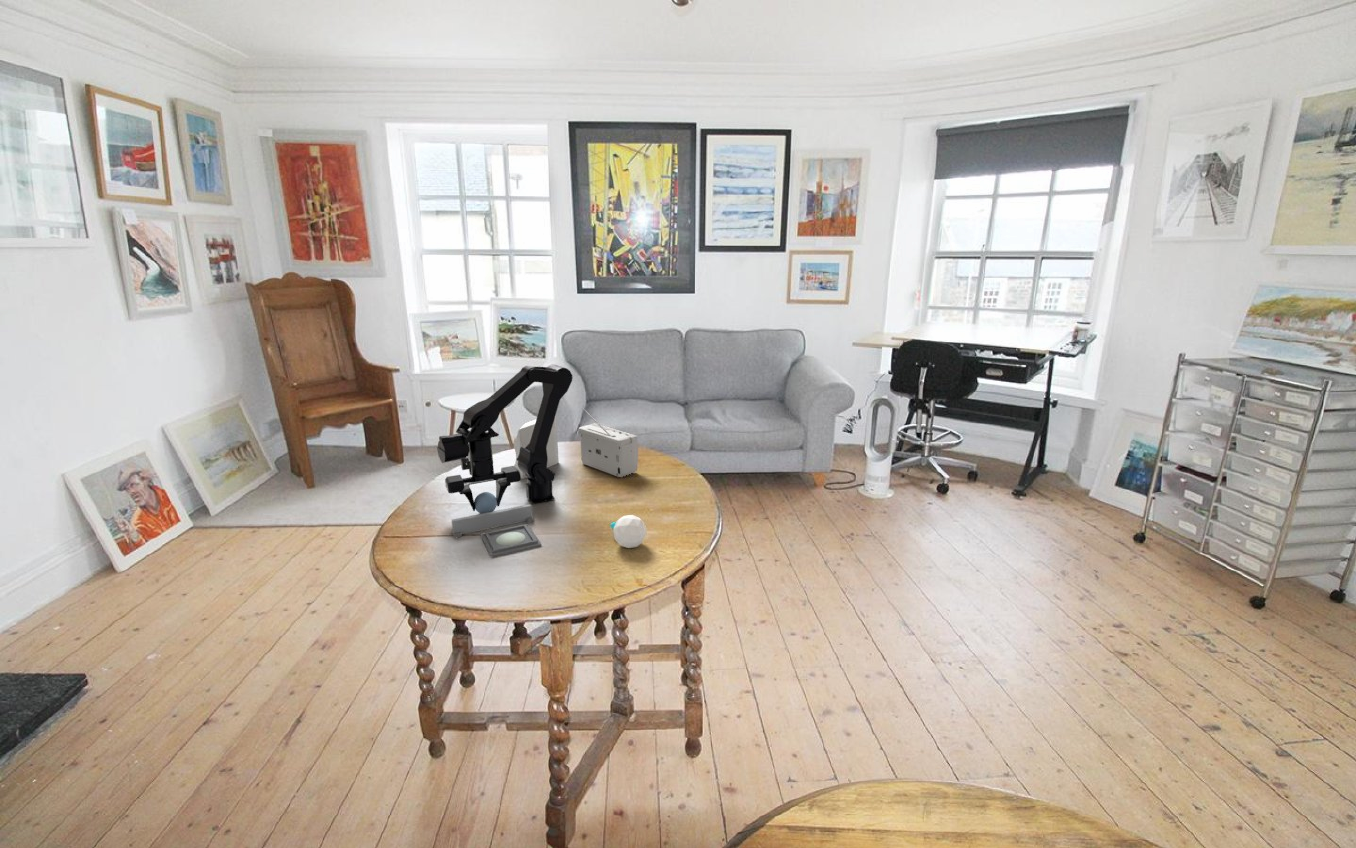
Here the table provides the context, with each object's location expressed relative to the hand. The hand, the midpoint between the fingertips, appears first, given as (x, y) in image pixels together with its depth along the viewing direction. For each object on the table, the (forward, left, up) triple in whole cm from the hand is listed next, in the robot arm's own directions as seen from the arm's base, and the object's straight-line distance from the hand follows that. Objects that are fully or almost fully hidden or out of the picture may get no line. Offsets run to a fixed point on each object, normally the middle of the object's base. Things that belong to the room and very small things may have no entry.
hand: (486, 508), depth 161 cm
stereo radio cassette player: (-42, -16, -2) cm, 45 cm away
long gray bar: (0, +9, -2) cm, 9 cm away
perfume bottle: (-27, +33, -2) cm, 43 cm away
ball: (0, 0, -2) cm, 2 cm away
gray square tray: (-2, +19, -2) cm, 19 cm away
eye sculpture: (-22, -28, -2) cm, 36 cm away
